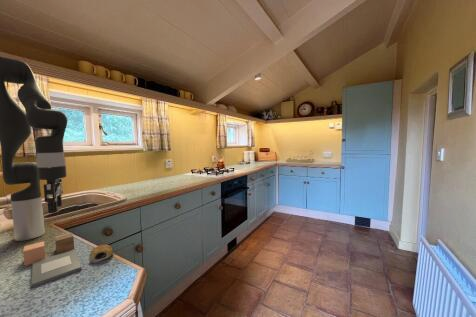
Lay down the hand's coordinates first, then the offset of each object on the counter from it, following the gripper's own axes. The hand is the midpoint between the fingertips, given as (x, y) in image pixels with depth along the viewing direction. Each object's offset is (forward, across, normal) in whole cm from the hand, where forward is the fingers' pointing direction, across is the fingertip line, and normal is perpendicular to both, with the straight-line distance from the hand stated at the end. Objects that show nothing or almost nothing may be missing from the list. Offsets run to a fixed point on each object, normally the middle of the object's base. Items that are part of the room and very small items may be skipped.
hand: (55, 209), depth 72 cm
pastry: (+17, +12, +13) cm, 24 cm away
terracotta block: (+17, +1, -6) cm, 18 cm away
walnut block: (+17, -3, +1) cm, 17 cm away
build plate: (+16, +11, +1) cm, 20 cm away
